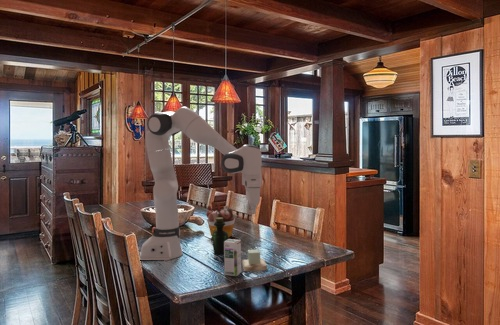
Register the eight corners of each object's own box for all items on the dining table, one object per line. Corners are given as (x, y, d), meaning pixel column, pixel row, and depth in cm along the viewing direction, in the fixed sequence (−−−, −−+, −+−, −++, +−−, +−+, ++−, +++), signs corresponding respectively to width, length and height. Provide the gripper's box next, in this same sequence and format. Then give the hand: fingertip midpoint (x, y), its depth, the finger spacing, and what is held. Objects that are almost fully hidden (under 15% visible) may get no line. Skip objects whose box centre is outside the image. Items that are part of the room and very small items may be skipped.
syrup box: (224, 275, 167) (223, 241, 166) (229, 270, 172) (229, 238, 171) (236, 276, 164) (235, 242, 164) (241, 272, 170) (241, 239, 169)
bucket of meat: (242, 237, 229) (241, 203, 227) (217, 242, 220) (216, 207, 218) (224, 231, 245) (223, 199, 244) (200, 235, 236) (199, 202, 235)
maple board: (244, 271, 171) (244, 266, 171) (241, 264, 181) (241, 259, 181) (266, 269, 172) (266, 265, 172) (263, 262, 182) (263, 258, 182)
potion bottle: (227, 250, 203) (226, 216, 202) (229, 255, 195) (228, 219, 194) (211, 251, 202) (210, 217, 201) (213, 256, 194) (212, 220, 193)
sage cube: (249, 264, 174) (248, 253, 173) (247, 260, 178) (247, 249, 178) (260, 263, 174) (260, 252, 174) (258, 260, 179) (258, 249, 179)
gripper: (242, 178, 185) (242, 207, 186) (247, 183, 165) (247, 216, 166) (255, 178, 186) (256, 207, 187) (262, 183, 165) (262, 215, 166)
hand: (252, 211), depth 176 cm, fingers open, 8 cm apart
